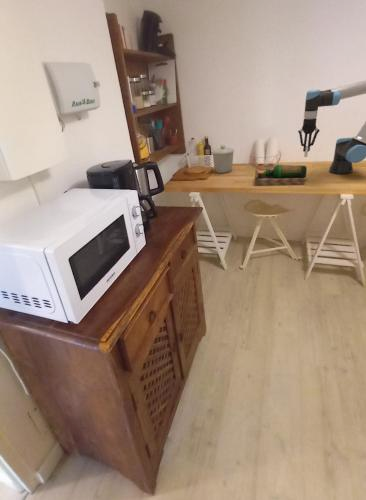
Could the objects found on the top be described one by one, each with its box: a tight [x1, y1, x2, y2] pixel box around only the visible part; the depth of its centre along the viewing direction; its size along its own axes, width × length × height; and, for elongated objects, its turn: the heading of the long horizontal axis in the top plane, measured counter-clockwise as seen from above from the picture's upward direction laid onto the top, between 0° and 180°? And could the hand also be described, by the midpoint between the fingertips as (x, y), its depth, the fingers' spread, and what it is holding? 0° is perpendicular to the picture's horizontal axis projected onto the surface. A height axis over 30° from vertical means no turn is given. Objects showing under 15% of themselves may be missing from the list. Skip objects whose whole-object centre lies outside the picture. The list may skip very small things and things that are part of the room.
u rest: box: [254, 169, 305, 187], centre depth 205 cm, size 32×17×6 cm, turn 77°
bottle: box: [262, 164, 307, 179], centre depth 204 cm, size 11×11×28 cm
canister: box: [211, 144, 235, 174], centre depth 236 cm, size 18×18×21 cm
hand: (305, 156), depth 194 cm, fingers closed
